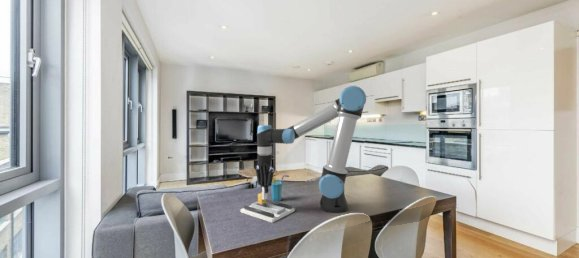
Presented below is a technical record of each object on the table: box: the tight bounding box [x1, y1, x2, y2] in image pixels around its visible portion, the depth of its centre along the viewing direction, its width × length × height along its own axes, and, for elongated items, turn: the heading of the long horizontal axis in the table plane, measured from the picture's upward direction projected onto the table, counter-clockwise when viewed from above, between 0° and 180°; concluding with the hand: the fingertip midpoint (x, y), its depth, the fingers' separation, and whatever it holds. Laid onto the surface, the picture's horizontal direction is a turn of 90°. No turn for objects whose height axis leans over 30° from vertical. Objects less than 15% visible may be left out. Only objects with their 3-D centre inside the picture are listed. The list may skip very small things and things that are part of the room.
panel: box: [240, 198, 296, 223], centre depth 123 cm, size 22×18×3 cm
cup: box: [270, 174, 290, 202], centre depth 142 cm, size 14×8×15 cm, turn 104°
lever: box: [257, 192, 267, 207], centre depth 126 cm, size 4×3×7 cm
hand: (264, 198), depth 124 cm, fingers closed
